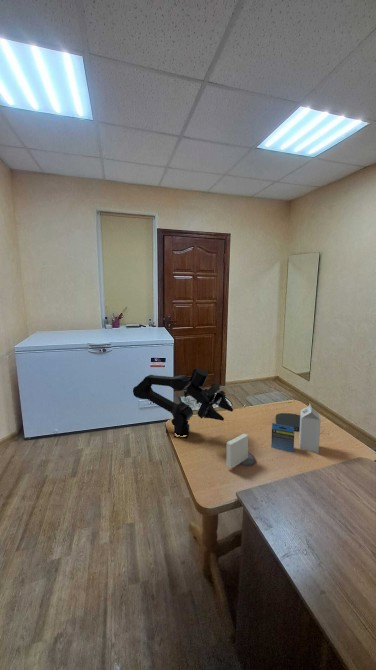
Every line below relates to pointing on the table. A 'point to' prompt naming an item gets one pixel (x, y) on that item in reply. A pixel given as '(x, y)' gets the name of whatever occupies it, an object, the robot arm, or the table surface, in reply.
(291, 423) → the media streaming box
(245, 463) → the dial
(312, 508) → the table surface
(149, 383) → the robot arm
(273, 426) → the label tape cartridge
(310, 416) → the milk carton
